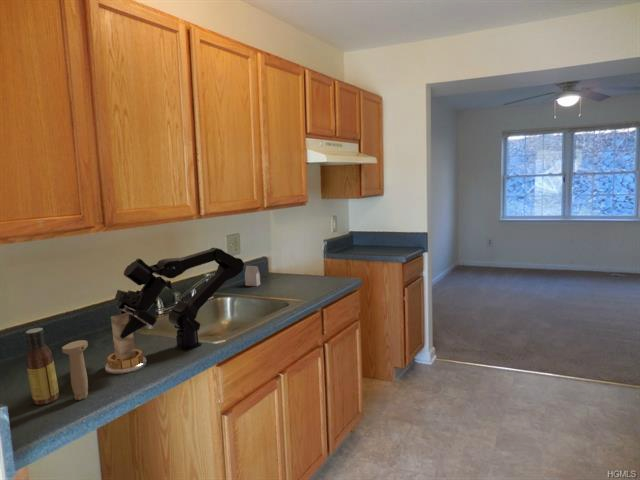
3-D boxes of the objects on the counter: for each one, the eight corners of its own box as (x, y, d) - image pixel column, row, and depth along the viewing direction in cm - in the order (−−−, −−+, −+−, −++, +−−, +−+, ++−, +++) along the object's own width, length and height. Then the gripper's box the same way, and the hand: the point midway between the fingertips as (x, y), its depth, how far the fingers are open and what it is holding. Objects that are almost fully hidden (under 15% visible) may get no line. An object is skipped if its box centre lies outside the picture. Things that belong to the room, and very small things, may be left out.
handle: (64, 402, 125) (57, 348, 123) (83, 391, 132) (76, 339, 129) (79, 404, 124) (72, 349, 122) (97, 393, 130) (91, 340, 128)
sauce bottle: (53, 392, 132) (44, 324, 129) (63, 398, 128) (54, 328, 125) (27, 402, 127) (17, 330, 124) (37, 409, 123) (26, 335, 120)
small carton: (256, 286, 245) (255, 267, 244) (245, 285, 248) (244, 266, 246) (260, 284, 248) (259, 265, 247) (249, 283, 251) (247, 265, 250)
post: (129, 352, 151) (125, 313, 149) (135, 356, 148) (131, 315, 146) (115, 356, 148) (110, 316, 146) (121, 360, 145) (116, 319, 143)
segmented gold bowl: (132, 355, 157) (131, 345, 156) (154, 362, 150) (153, 352, 149) (97, 368, 147) (96, 358, 146) (119, 377, 140) (118, 365, 139)
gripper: (118, 275, 154) (86, 316, 148) (142, 283, 140) (108, 329, 134) (144, 293, 160) (115, 334, 154) (169, 303, 147) (138, 347, 141)
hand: (118, 335), depth 146 cm, fingers closed on post, 4 cm apart
